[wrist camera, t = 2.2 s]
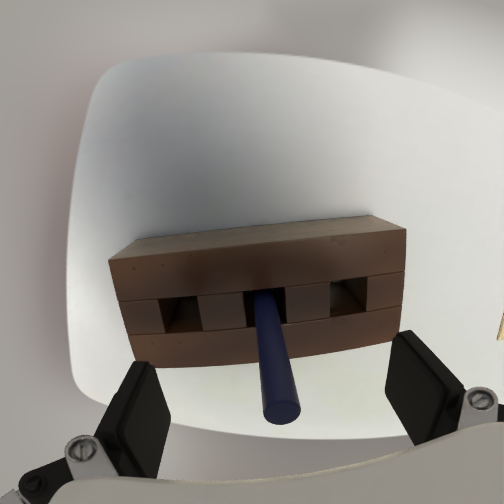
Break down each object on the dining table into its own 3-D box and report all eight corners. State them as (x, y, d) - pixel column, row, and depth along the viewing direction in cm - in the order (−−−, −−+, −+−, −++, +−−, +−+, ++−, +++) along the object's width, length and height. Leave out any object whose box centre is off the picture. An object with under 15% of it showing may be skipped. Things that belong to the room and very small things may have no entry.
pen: (250, 269, 21) (261, 403, 8) (268, 267, 21) (301, 398, 8) (252, 285, 21) (265, 427, 9) (269, 284, 21) (301, 423, 9)
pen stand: (136, 239, 20) (107, 259, 15) (372, 215, 20) (406, 228, 15) (156, 330, 22) (138, 368, 17) (370, 307, 22) (398, 340, 17)
